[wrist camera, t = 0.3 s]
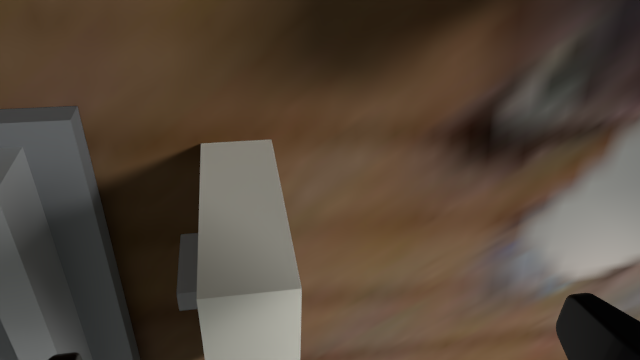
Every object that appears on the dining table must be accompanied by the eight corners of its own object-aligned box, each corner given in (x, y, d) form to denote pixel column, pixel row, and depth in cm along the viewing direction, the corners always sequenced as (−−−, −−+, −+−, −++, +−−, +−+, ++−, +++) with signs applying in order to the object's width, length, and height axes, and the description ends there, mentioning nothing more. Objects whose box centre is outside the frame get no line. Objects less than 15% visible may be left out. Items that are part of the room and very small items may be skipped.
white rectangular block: (275, 333, 29) (297, 500, 22) (207, 341, 29) (206, 516, 21) (271, 139, 22) (301, 288, 15) (181, 144, 22) (167, 302, 14)
